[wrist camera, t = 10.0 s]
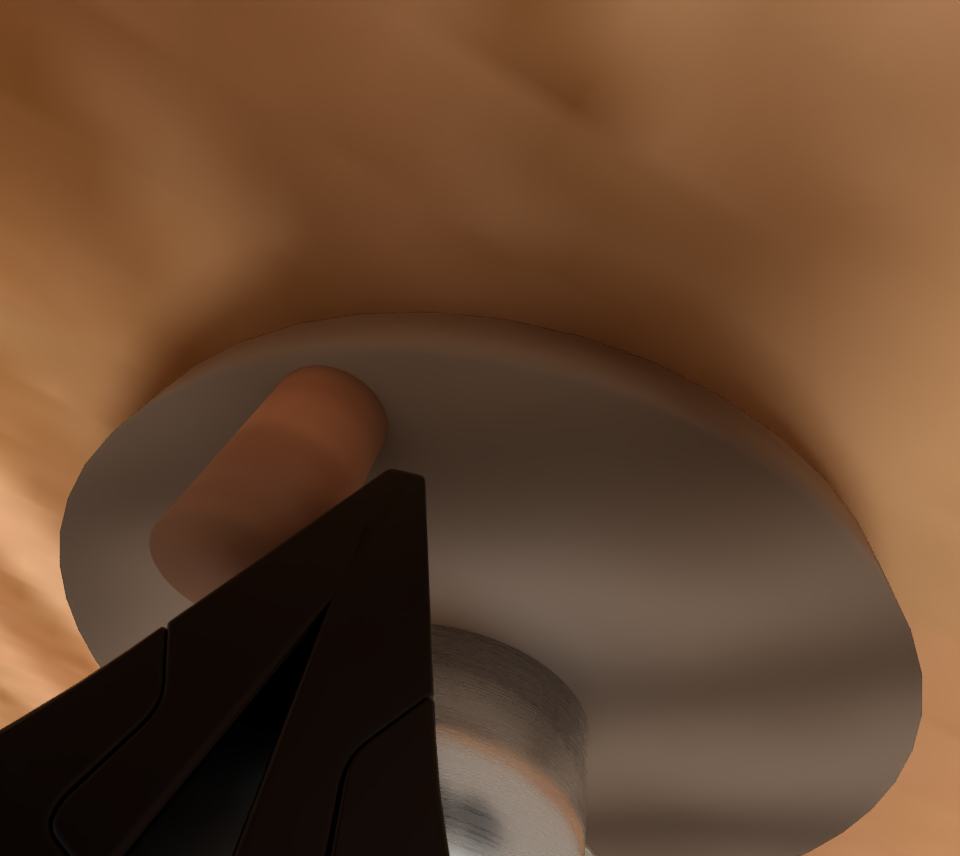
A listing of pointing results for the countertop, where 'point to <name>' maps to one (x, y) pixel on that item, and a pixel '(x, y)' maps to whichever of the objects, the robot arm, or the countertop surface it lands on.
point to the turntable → (544, 555)
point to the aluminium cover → (507, 750)
